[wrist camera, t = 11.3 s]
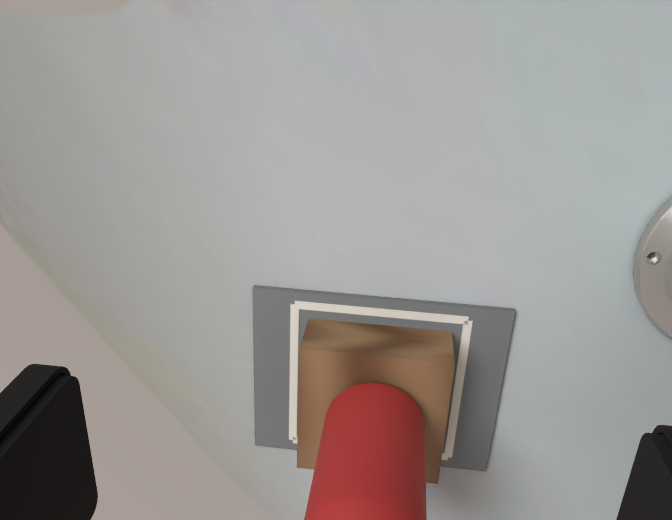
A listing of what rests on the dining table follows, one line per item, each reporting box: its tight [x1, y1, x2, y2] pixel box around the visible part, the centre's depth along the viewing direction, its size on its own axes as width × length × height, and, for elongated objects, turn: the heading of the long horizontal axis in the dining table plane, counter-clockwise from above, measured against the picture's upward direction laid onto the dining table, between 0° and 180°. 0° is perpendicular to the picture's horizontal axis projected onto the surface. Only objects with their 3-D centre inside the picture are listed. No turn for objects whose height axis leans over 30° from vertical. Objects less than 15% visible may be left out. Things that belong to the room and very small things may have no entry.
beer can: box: [304, 382, 426, 520], centre depth 37 cm, size 7×7×12 cm
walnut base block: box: [297, 318, 455, 484], centre depth 44 cm, size 10×10×4 cm
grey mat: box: [253, 285, 515, 471], centre depth 46 cm, size 18×14×1 cm
